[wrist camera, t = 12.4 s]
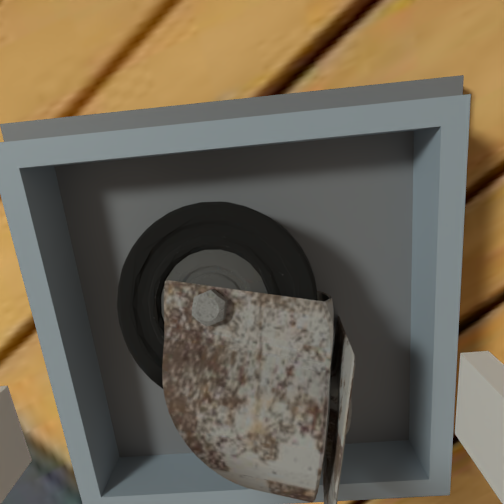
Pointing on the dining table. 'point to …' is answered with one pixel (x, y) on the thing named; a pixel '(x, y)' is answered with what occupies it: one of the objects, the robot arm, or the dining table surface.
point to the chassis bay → (304, 232)
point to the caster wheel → (241, 347)
